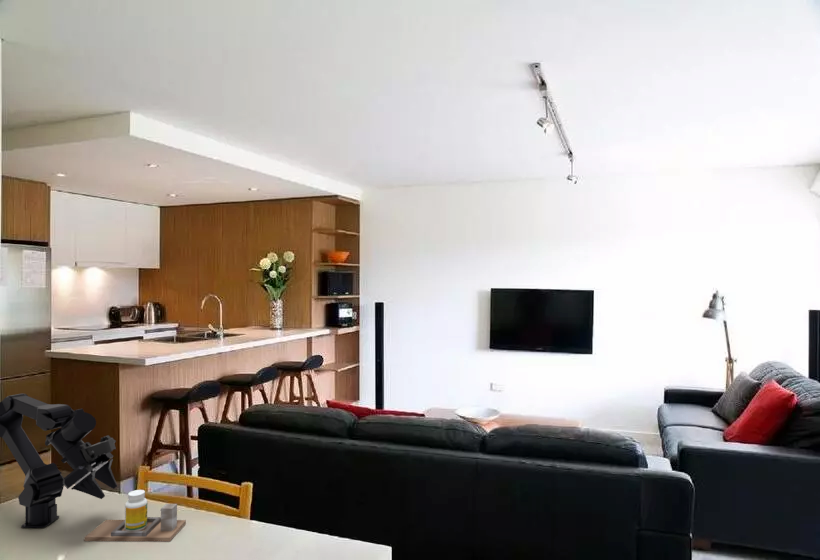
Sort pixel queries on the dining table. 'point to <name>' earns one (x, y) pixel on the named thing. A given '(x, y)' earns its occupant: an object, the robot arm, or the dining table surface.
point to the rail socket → (155, 530)
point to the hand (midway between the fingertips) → (109, 492)
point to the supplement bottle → (136, 511)
